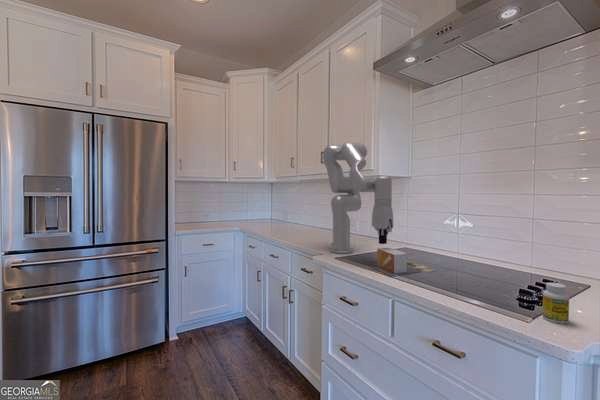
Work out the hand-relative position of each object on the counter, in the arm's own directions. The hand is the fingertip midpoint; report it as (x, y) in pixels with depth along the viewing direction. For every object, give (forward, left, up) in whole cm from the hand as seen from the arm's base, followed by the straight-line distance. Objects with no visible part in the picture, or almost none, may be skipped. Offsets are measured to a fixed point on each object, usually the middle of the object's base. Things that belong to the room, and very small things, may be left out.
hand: (382, 243), depth 134 cm
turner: (+9, +12, -10) cm, 18 cm away
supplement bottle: (+63, +7, -10) cm, 64 cm away
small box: (0, 0, -6) cm, 6 cm away
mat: (+8, 0, -10) cm, 13 cm away
